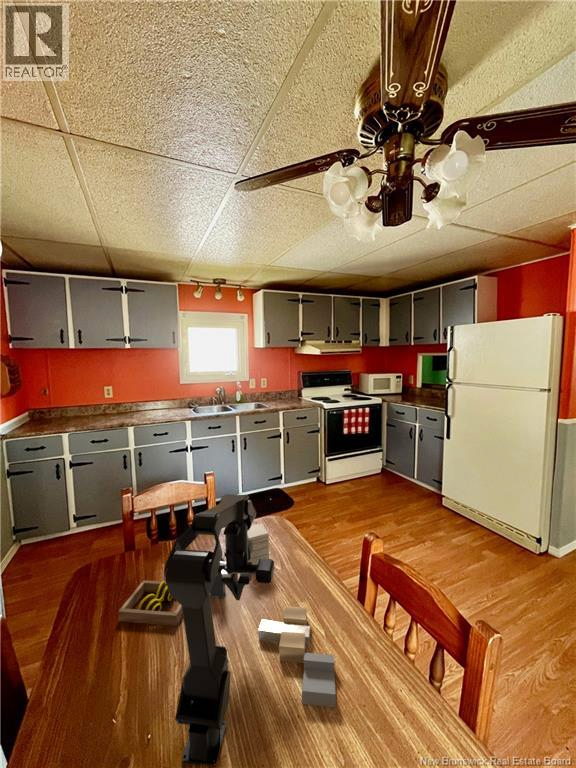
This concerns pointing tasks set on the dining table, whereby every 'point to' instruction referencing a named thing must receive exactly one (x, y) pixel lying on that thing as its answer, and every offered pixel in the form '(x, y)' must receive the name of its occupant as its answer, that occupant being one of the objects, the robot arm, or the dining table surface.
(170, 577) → the robot arm
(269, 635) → the bar
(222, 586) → the vaping device
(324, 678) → the v cradle
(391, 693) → the dining table surface
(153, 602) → the yellow looped piece
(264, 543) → the supplement box
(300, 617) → the wooden blocks
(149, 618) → the valet tray
